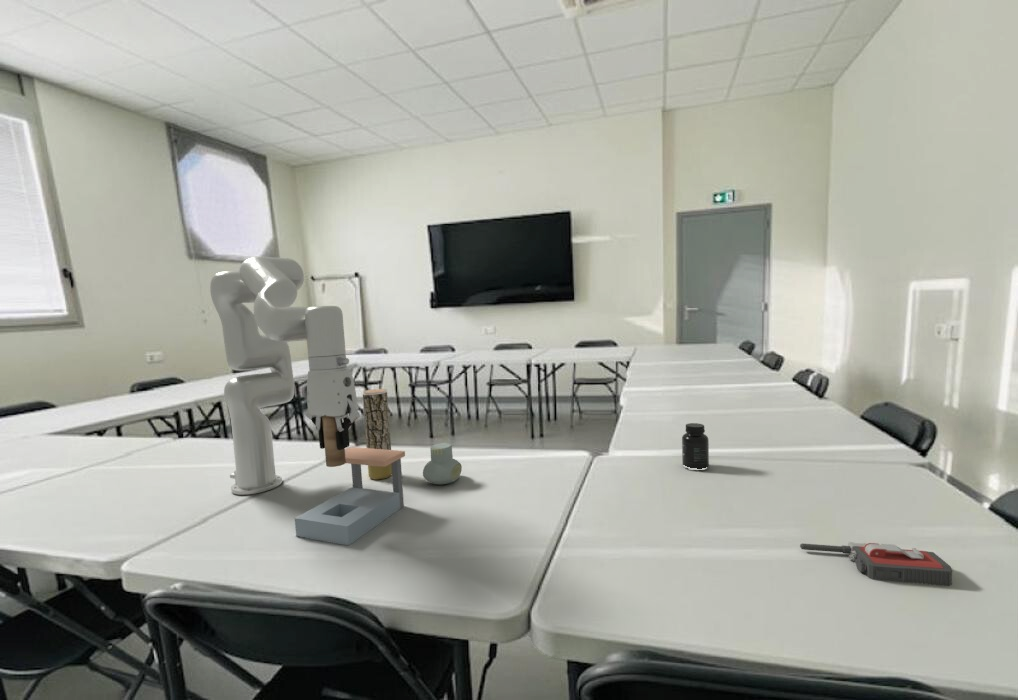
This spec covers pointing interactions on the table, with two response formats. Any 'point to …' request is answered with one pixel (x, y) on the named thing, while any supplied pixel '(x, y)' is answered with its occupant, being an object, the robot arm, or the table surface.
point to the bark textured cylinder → (377, 428)
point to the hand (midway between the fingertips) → (334, 446)
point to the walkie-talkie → (893, 562)
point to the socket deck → (355, 501)
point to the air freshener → (442, 465)
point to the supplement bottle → (695, 447)
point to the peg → (332, 443)
